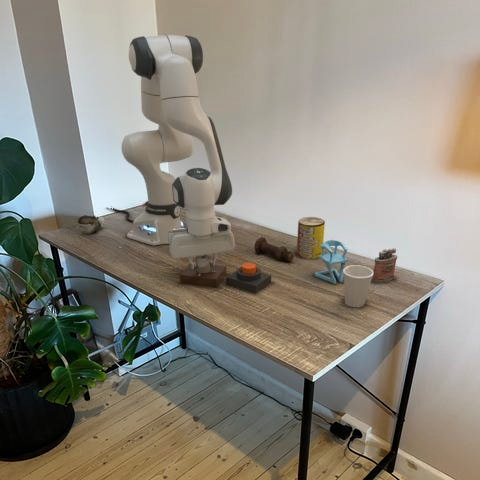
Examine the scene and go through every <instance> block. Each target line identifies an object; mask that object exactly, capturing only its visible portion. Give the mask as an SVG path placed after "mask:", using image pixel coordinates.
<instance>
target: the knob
mask: <svg viewBox="0 0 480 480" xmlns="http://www.w3.org/2000/svg"><path fill="white" fill-rule="evenodd" d="M210 260H211V256H209V255H202V256H195V262H196V264H197V269H196V271H197V272H199V273H207V272H209V271H210Z"/></svg>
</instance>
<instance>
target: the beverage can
mask: <svg viewBox="0 0 480 480" xmlns="http://www.w3.org/2000/svg"><path fill="white" fill-rule="evenodd" d="M325 224H326V220H325V219H323V218H321V217H317V216H304V217H301V218H299V219H298V223H297V238H296V256H298V257H299V258H302V259H306V260H315V259H320V258H319V255H321V254H322V249H321V245H322V244H323V243H324V237H325V236H324V235H325V226H326V225H325Z"/></svg>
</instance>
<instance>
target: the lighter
mask: <svg viewBox="0 0 480 480" xmlns="http://www.w3.org/2000/svg"><path fill="white" fill-rule="evenodd" d="M396 253H397V249H396V248H395V247H393V248H389V249H386V248H385V249H383V250H382V251H379V252H378V256H377V257H375V258H374V266H373V272H374V274H373V276H372V279H371V283H374V284H381V283H386V282H387V283H388V282H390V281H391V280H395V271H396V264H397V260H398V255H397V254H396Z"/></svg>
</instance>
